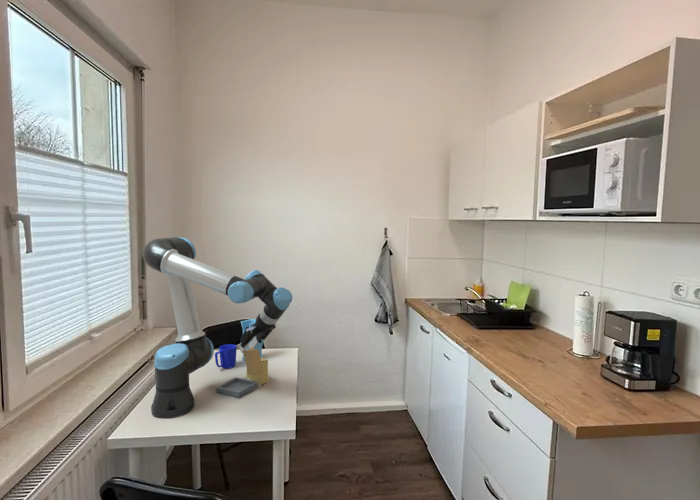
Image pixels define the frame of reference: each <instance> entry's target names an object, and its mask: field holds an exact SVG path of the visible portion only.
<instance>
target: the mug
mask: <svg viewBox="0 0 700 500" xmlns="http://www.w3.org/2000/svg"><path fill="white" fill-rule="evenodd" d="M237 348H238V346H237V345H236V344H229V343H228V344H227V343H226V344H222V345H220V346H219V348H218V350H219V351H216V352H215V353H214V360H215V364H216V367H217V368H222V369H232V368H234V367H236V364H237V362H236V361H237ZM218 355H219V358H218ZM219 363H220V364H219Z"/></svg>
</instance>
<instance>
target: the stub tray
mask: <svg viewBox="0 0 700 500" xmlns="http://www.w3.org/2000/svg"><path fill="white" fill-rule="evenodd" d="M258 388H259V384H258V382H256V381H252V380H250V379H247V378H242V377H233V378H232V379H230V380H228V381H226V382H224V383H221V384H219V385H218V386H216V387H215V393H216V394H218V395H222V396H225V397H230V398H235V399H240V398H242V397H244V396H246V395H248V394H249V393H252V392H253V391H255V390H256V389H258Z"/></svg>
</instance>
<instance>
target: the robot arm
mask: <svg viewBox="0 0 700 500" xmlns="http://www.w3.org/2000/svg"><path fill="white" fill-rule="evenodd" d="M196 257H197V252H196V248H195V245H194V244H193V242H192V241H191V240H189V238H185V237H178V236H175V237H165V238H161V237H160V238H153V239H152V240H150V241H148V243H146V244H145V246H144V248H143V250H142V258H143V261H144V262H145V264H146V265H147V266H148V267H149V268H151V269H152V270H155V271H157V272H160V273H162V274H163V275H164V276H166V277H167V282H168V287H169V292H170V297H171V302H172V308H173V313H174V317H175V318H174V320H175V325H176V330H177V337H176V338H175V339H174V340H175V341H174V343H172V344H168V345H167V344H166V345H164V346H162V347H160V348H159V349H158V350H157V351H156V353H155V354H154V363H153V365H154V377H155V378H154V380H155V392H154V393H155V394H154V396H153V401H152V404H151V407H150V409H151V412H150V413H152V414H151V415H152V416H153V417H156V418H160V419H169V418H170V419H171V418H176V417H181V416H184V415H186V414H188V413H190V412H191V411H193V410H194V408H195V407H196V402H195V401H196V400H195V397H194V394H193V393H192V390H191V387H190V374H192V373H194V372H195V371H197V370H199V369H201V368H203V367H205V366H206V365H207V364H208V363H210V361H212V359H213V356H214V354H215V353H214V351H215V349H214V348H215V347H214V344H213V342H212V341H211V340H210V339H209V338H208V337H207V336H206V332H205V331H203V330H201V326H200V320H199V314H198V309H197V303H196V298H195V291H194V286H193V283H195V284H198V285H199V286H202V287H205V288H208V289H210V290H213V291H214V292H217V293H220V294H223V295H225V296H228V298H229V299H230V300H231V302H232V303H234V304H245V303H247V302H249V301H252V300H254V299H256V298H258V299H259V300H260V301H261V302H262V303H263V304H265V305H264V307H263V308H262V309H261V310H260V312H259V313H258V315H257V316H256V318H255V319H256V322H255V324H254V325H253V326H252V327H251V328H249V327H246V330H245V332H244V333H243V332H242V335H241V337H240V339H239V341H240V345H239V350H240V352H241V354H243V352H244V351H245V349H246V348H247V347H248V346H249V348H251V349H254V347H255V346H256V345H257V344H258V342H259V343H261V342H262V341H261V340H262V339H263V341H265V340H266V339H267V338H268V336H269V335H270V334H271V332H272V331H273V330H275V329H276V328H277V326H276V325H277V324H276V323H277V322H278V321H279V319H280V318H281V317H282V316H283V315H284V313H285V312H286V310H288V308H289V307H290V305H291V303H292V301H293V295H292V293H291V291H290V290H289V289H287V288H285V287H282V286H281V287H277V286H276V285H274V284H273V283H272V281H270V280H269V279H268V278H267V277H266V275H264V273H262V272H261V271H260V270H259V269H254V270H252V271H250V272H249V273H248V274H247V275H246V276H245V278H242V277H239V276H237V275H234V274H232V273H229V272H226V271H224V270H222V269H218V268H216V267H213V266H211V265H208V264H206V263H204V262H201V261H198V260H196V259H195V258H196ZM255 336H256V337H257V338H256V337H255ZM252 339H253V340H252ZM251 340H252V341H251ZM250 341H251V342H250ZM249 342H250V344H249Z"/></svg>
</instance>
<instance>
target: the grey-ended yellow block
mask: <svg viewBox="0 0 700 500" xmlns="http://www.w3.org/2000/svg"><path fill="white" fill-rule="evenodd" d="M260 358H261V357H260ZM261 363H262V367H263V372H264V373H262V374H260V375H258V376H254V375H250V374H248V372H247V371H246V379H247V380H251V381H256V382H258V385H260V386H264V384H265V385H267V383H268V384H269V360H268V359H265V358H264V357H263V358H261Z"/></svg>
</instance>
